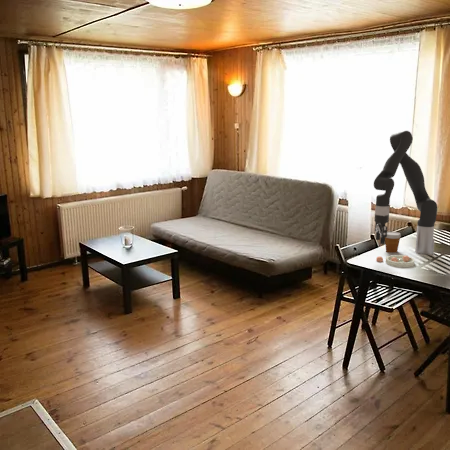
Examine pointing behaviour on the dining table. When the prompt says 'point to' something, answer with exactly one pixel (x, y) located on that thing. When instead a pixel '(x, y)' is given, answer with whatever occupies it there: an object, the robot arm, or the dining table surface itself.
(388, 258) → the ring tray
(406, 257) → the salmon orange ball
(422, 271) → the dining table surface
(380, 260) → the peach orange ball
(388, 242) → the disposable coffee cup
